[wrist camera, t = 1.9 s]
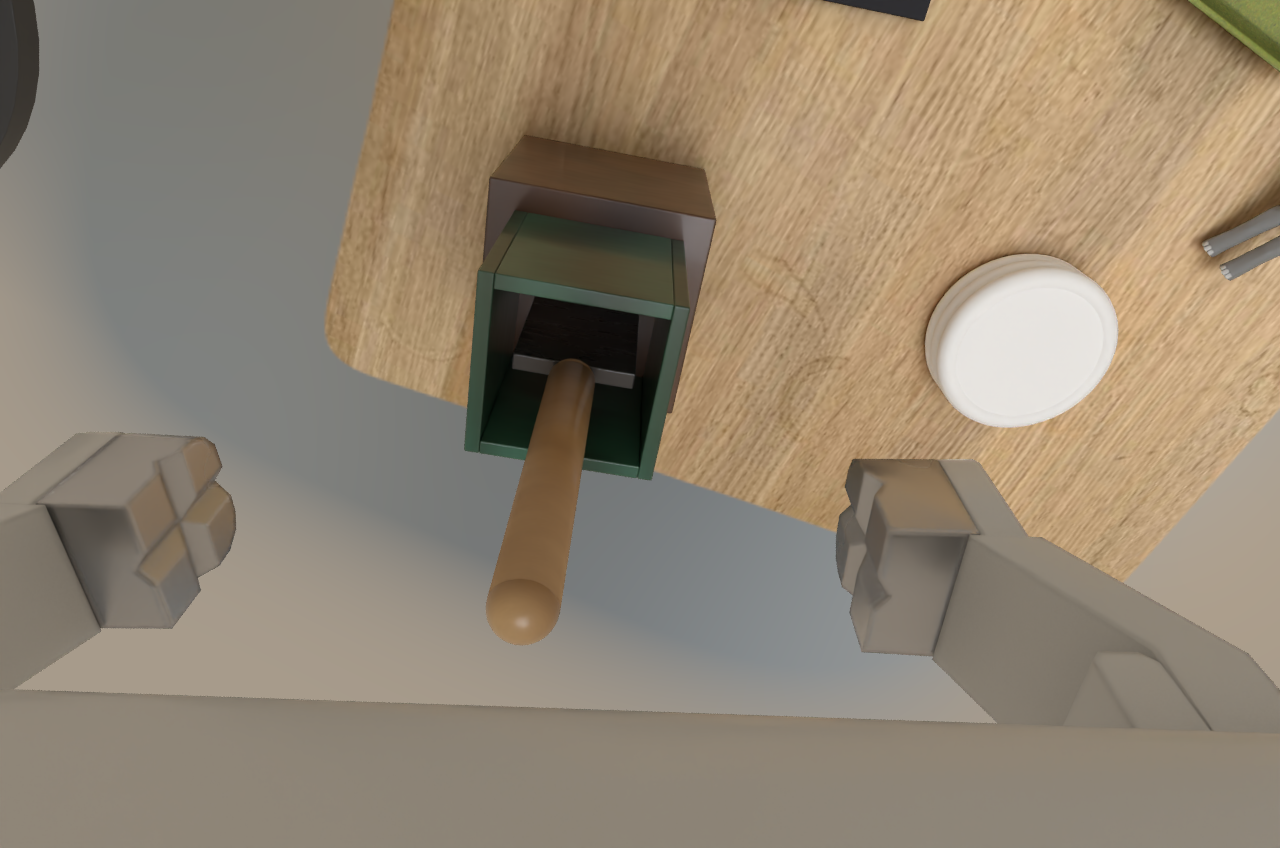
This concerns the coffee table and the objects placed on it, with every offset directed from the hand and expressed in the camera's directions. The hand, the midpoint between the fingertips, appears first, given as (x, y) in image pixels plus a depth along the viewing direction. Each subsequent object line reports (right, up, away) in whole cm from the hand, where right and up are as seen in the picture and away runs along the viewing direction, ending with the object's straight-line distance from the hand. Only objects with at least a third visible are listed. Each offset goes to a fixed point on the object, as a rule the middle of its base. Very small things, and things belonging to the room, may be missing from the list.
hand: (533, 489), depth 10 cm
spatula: (-1, +6, +26) cm, 27 cm away
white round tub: (+24, +7, +37) cm, 44 cm away
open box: (-1, +11, +35) cm, 37 cm away
